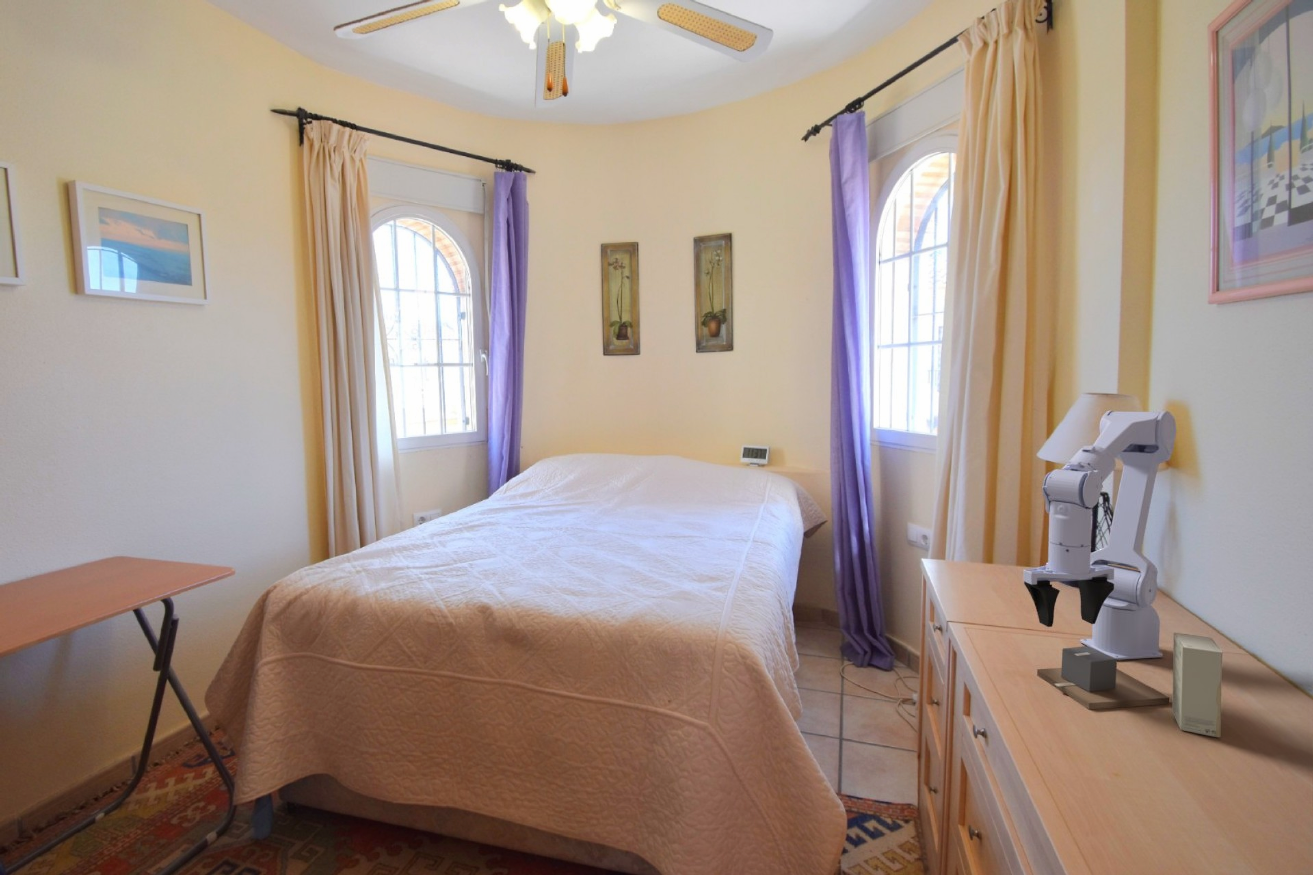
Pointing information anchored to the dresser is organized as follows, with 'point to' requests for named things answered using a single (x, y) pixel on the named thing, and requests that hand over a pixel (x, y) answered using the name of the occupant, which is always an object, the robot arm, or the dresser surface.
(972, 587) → the dresser surface
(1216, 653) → the skincare box
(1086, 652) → the mini file drawer
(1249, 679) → the dresser surface
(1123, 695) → the board
